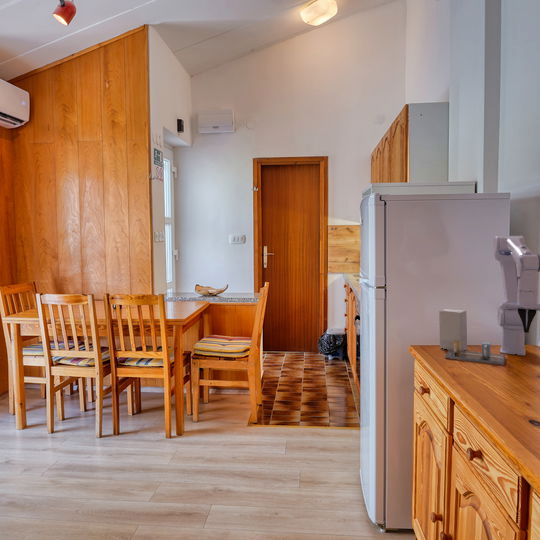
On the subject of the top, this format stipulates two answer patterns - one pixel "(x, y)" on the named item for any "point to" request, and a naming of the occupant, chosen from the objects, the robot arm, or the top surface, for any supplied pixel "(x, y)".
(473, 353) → the bolt plate
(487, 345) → the sliding leg
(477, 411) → the top surface
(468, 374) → the top surface
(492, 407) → the top surface
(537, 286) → the robot arm
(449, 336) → the skincare box
